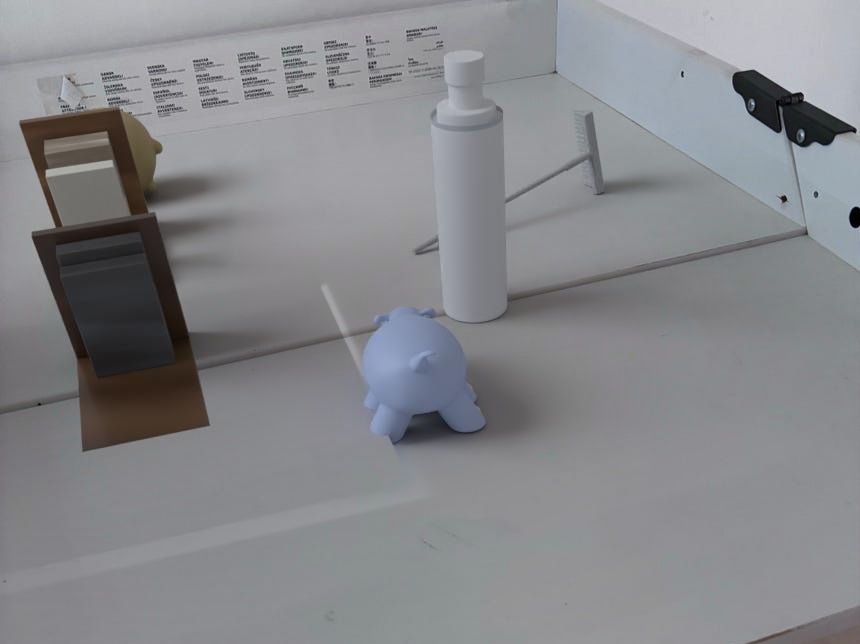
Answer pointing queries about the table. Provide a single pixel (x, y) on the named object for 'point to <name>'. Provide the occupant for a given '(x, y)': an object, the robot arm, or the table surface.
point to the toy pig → (142, 150)
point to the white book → (87, 192)
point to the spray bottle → (470, 193)
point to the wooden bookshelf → (83, 150)
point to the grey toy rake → (589, 155)
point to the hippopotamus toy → (417, 374)
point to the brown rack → (123, 329)
